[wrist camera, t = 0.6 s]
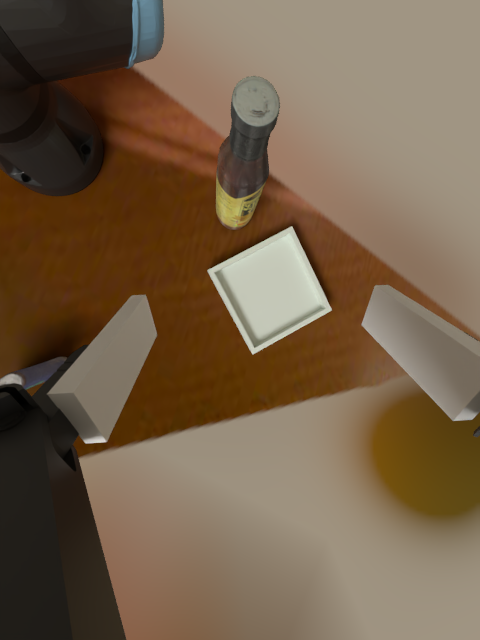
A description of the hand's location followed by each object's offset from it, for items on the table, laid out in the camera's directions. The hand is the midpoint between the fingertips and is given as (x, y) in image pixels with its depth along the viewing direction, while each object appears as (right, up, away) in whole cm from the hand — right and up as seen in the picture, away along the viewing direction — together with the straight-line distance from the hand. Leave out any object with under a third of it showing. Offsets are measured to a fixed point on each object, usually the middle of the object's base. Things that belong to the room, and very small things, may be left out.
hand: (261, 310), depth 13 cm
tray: (+4, +5, +26) cm, 27 cm away
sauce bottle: (-2, +18, +24) cm, 30 cm away
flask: (-34, -9, +23) cm, 42 cm away
